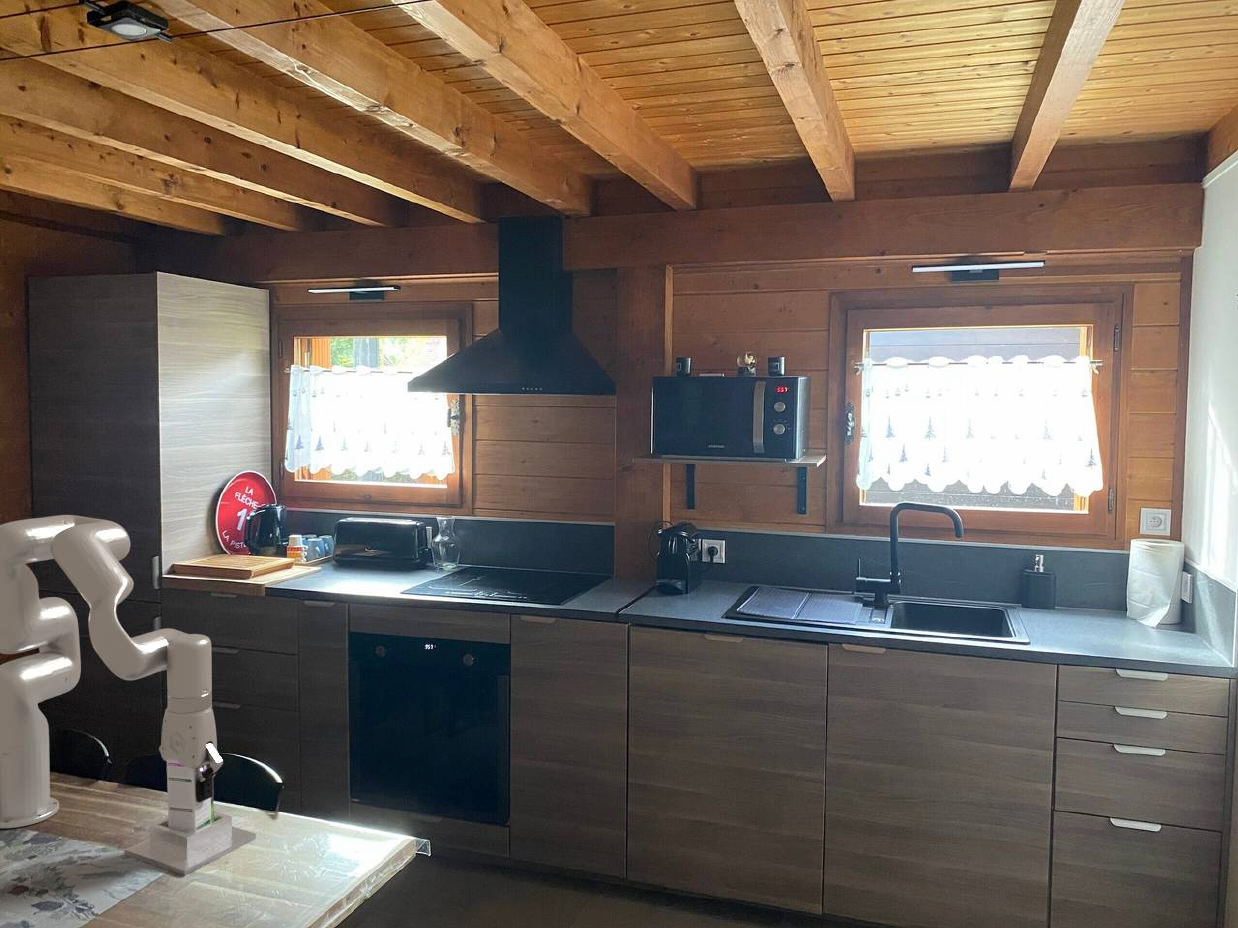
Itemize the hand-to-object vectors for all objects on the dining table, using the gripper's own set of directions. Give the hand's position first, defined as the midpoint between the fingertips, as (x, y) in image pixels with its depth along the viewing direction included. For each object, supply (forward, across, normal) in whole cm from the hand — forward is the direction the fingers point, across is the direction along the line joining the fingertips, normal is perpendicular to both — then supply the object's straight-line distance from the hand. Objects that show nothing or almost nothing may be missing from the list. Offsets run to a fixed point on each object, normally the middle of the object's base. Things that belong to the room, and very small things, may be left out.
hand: (190, 794), depth 175 cm
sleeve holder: (+10, 0, 0) cm, 10 cm away
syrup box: (+7, 0, 0) cm, 7 cm away
